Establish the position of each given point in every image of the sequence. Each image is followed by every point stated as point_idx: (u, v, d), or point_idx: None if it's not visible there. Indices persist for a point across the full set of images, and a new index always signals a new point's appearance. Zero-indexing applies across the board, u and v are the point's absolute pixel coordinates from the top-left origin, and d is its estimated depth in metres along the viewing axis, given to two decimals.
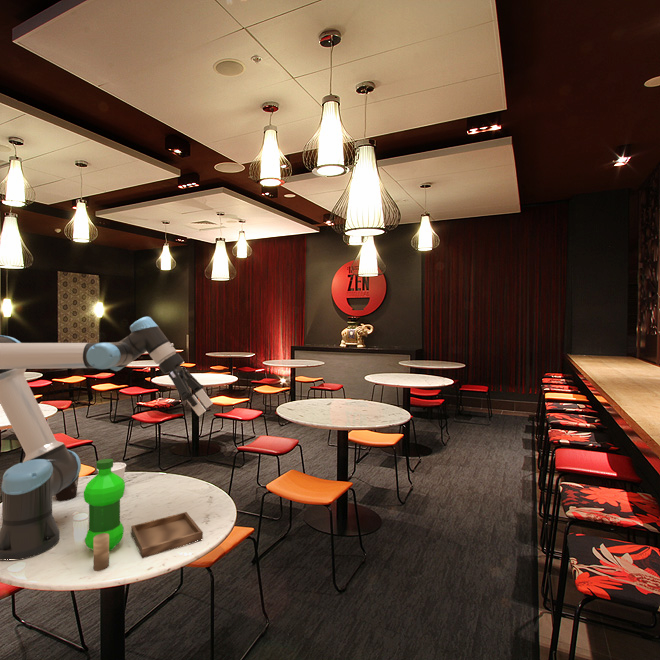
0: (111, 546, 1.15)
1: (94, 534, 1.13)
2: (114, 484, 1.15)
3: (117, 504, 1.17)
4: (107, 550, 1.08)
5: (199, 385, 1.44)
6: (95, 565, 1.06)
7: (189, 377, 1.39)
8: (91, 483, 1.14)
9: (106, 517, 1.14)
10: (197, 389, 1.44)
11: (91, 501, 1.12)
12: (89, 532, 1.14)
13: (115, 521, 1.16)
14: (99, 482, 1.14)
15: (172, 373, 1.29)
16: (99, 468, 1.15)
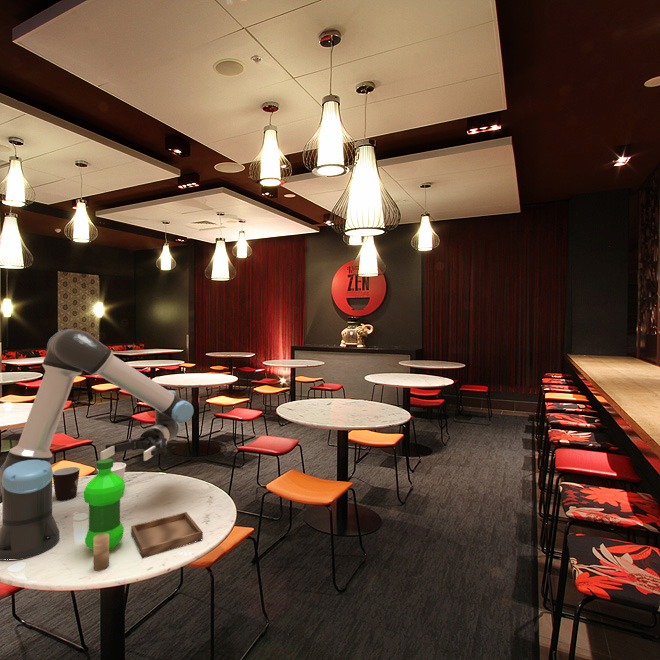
0: (111, 546, 1.15)
1: (94, 534, 1.13)
2: (114, 484, 1.15)
3: (117, 504, 1.17)
4: (107, 550, 1.08)
5: None
6: (95, 565, 1.06)
7: (133, 448, 1.39)
8: (91, 483, 1.14)
9: (106, 517, 1.14)
10: None
11: (91, 501, 1.12)
12: (89, 532, 1.14)
13: (115, 521, 1.16)
14: (99, 482, 1.14)
15: (166, 442, 1.43)
16: (99, 468, 1.15)
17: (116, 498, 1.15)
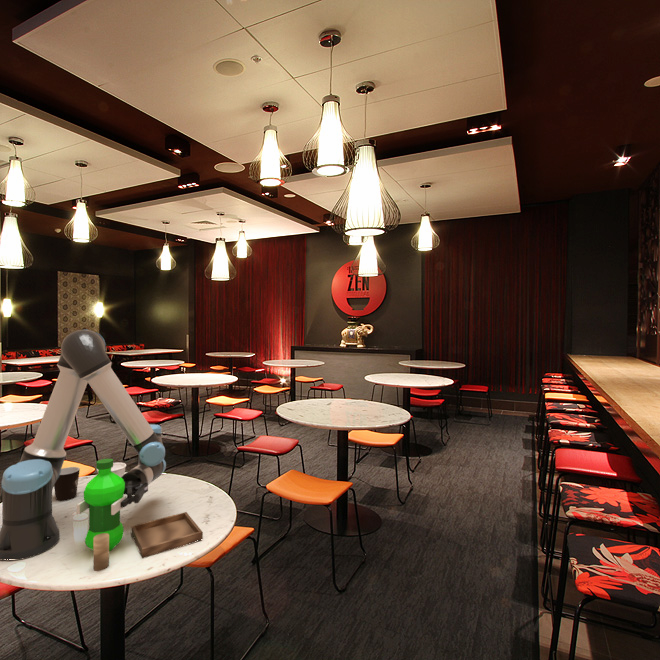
0: (111, 546, 1.15)
1: (94, 534, 1.13)
2: (114, 484, 1.15)
3: None
4: (107, 550, 1.08)
5: None
6: (95, 565, 1.06)
7: None
8: (91, 483, 1.14)
9: (106, 517, 1.14)
10: None
11: (91, 501, 1.12)
12: (89, 532, 1.14)
13: (115, 521, 1.16)
14: (99, 482, 1.14)
15: (147, 487, 1.29)
16: (99, 468, 1.15)
17: (116, 498, 1.15)
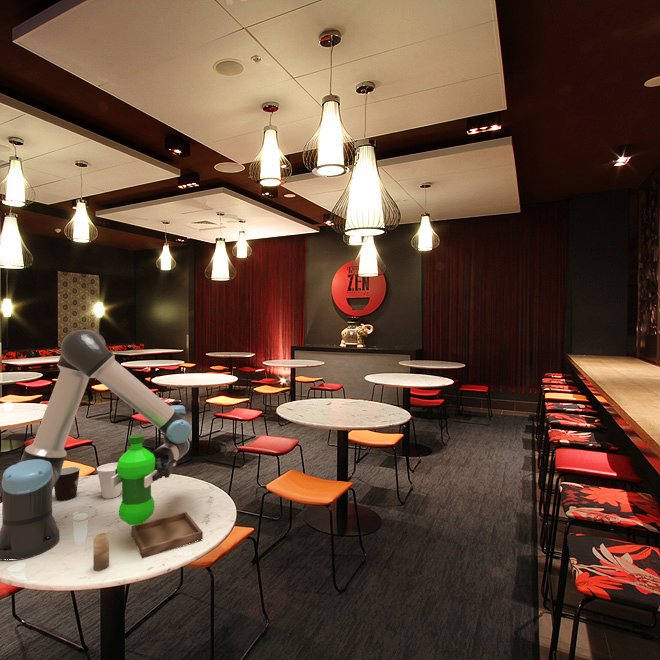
0: (144, 518, 1.18)
1: (127, 506, 1.16)
2: (146, 458, 1.18)
3: None
4: (107, 550, 1.08)
5: None
6: (95, 565, 1.06)
7: None
8: (124, 457, 1.18)
9: (139, 490, 1.17)
10: None
11: (124, 474, 1.16)
12: (122, 505, 1.17)
13: (147, 494, 1.19)
14: (132, 456, 1.17)
15: (175, 464, 1.32)
16: (131, 443, 1.19)
17: (148, 472, 1.18)
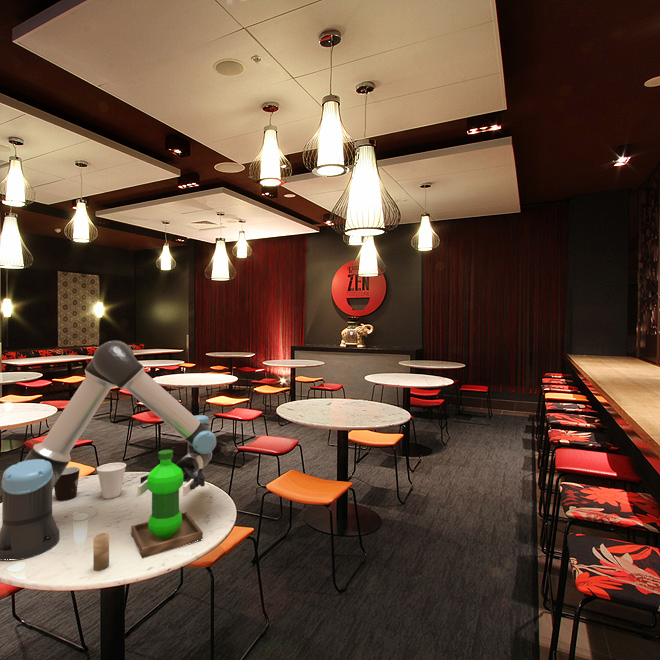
0: (172, 532, 1.21)
1: (157, 520, 1.20)
2: (175, 474, 1.22)
3: (177, 492, 1.24)
4: (107, 550, 1.08)
5: None
6: (95, 565, 1.06)
7: None
8: (154, 472, 1.21)
9: (168, 505, 1.21)
10: None
11: (155, 489, 1.19)
12: (152, 518, 1.21)
13: (176, 508, 1.23)
14: (162, 472, 1.21)
15: (202, 473, 1.36)
16: (161, 458, 1.22)
17: (177, 487, 1.22)
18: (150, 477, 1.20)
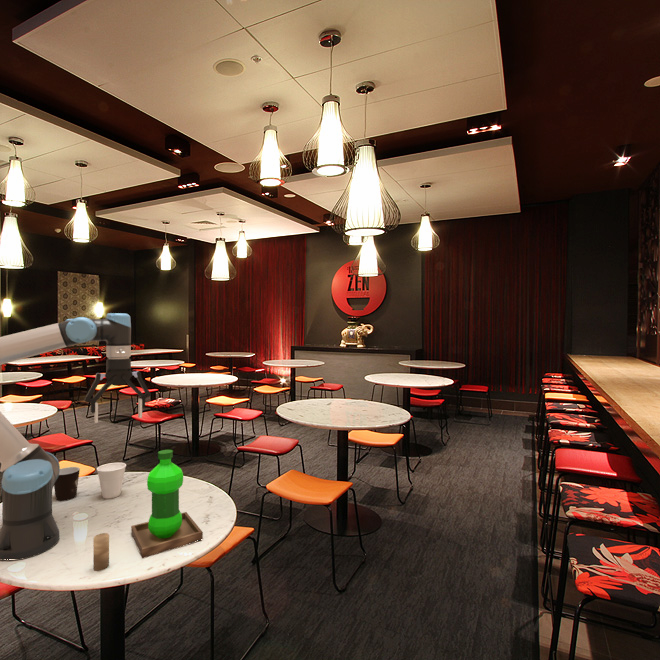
0: (172, 532, 1.21)
1: (157, 520, 1.20)
2: (175, 473, 1.22)
3: (177, 492, 1.24)
4: (107, 550, 1.08)
5: (143, 395, 1.44)
6: (95, 565, 1.06)
7: (128, 384, 1.42)
8: (154, 472, 1.21)
9: (168, 504, 1.21)
10: (141, 396, 1.45)
11: (155, 489, 1.19)
12: (152, 518, 1.21)
13: (175, 508, 1.23)
14: (161, 471, 1.21)
15: (96, 375, 1.37)
16: (161, 458, 1.22)
17: (177, 486, 1.22)
18: (150, 477, 1.21)
